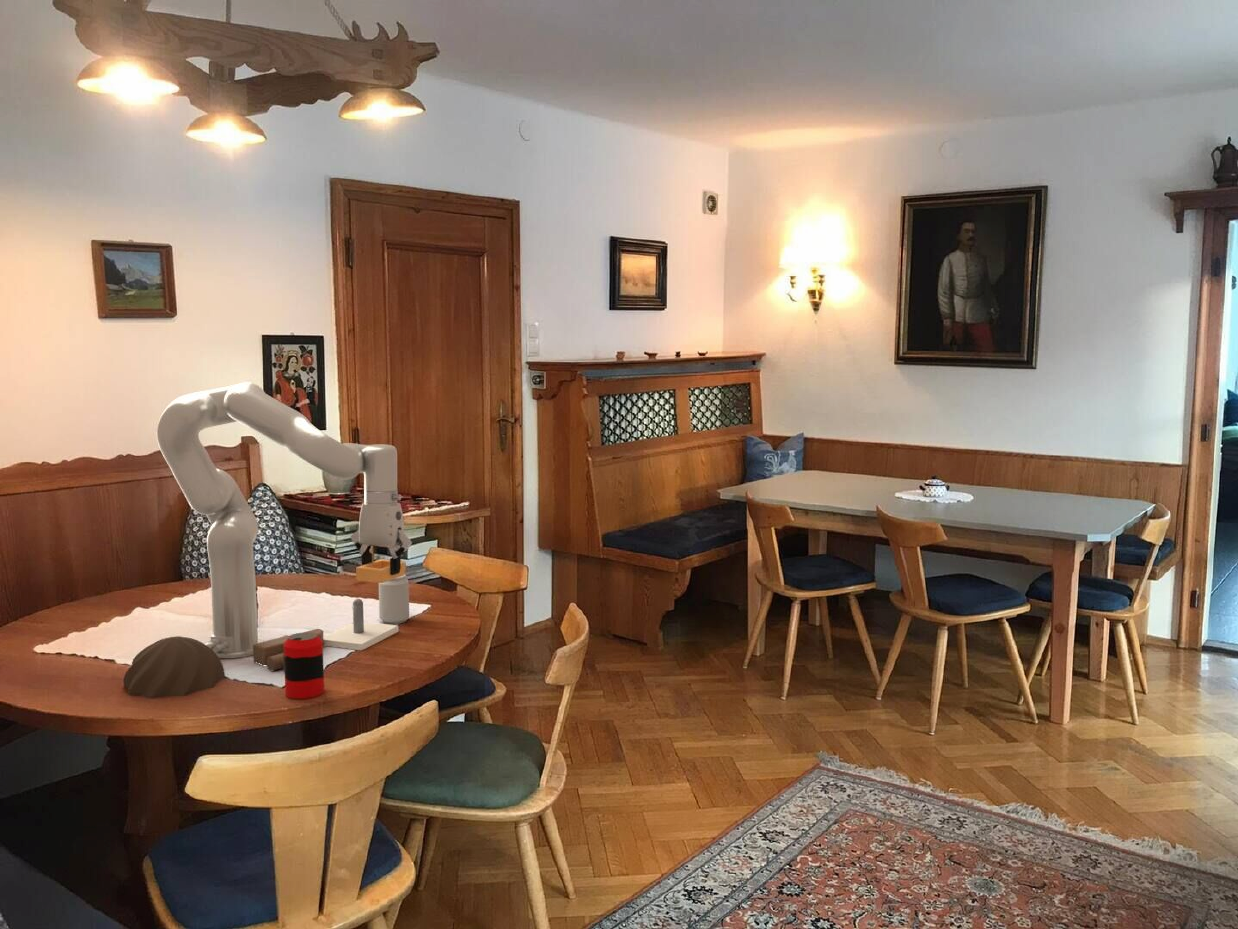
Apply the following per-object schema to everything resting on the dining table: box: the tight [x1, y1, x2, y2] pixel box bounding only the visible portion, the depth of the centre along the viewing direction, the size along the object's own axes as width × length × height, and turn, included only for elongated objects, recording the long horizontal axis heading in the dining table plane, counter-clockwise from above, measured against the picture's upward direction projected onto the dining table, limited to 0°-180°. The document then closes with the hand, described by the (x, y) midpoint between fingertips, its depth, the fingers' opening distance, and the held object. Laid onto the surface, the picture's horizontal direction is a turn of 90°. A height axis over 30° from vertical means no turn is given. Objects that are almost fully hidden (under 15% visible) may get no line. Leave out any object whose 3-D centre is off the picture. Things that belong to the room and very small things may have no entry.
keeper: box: [323, 598, 399, 651], centre depth 246 cm, size 16×12×10 cm
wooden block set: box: [252, 628, 325, 673], centre depth 229 cm, size 17×6×18 cm
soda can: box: [284, 631, 325, 700], centre depth 208 cm, size 8×8×12 cm
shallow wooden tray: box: [355, 558, 407, 584], centre depth 241 cm, size 10×7×3 cm
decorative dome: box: [123, 635, 226, 699], centre depth 215 cm, size 19×20×10 cm
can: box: [378, 574, 410, 625], centre depth 260 cm, size 8×8×12 cm
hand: (381, 571), depth 241 cm, fingers closed on shallow wooden tray, 7 cm apart
